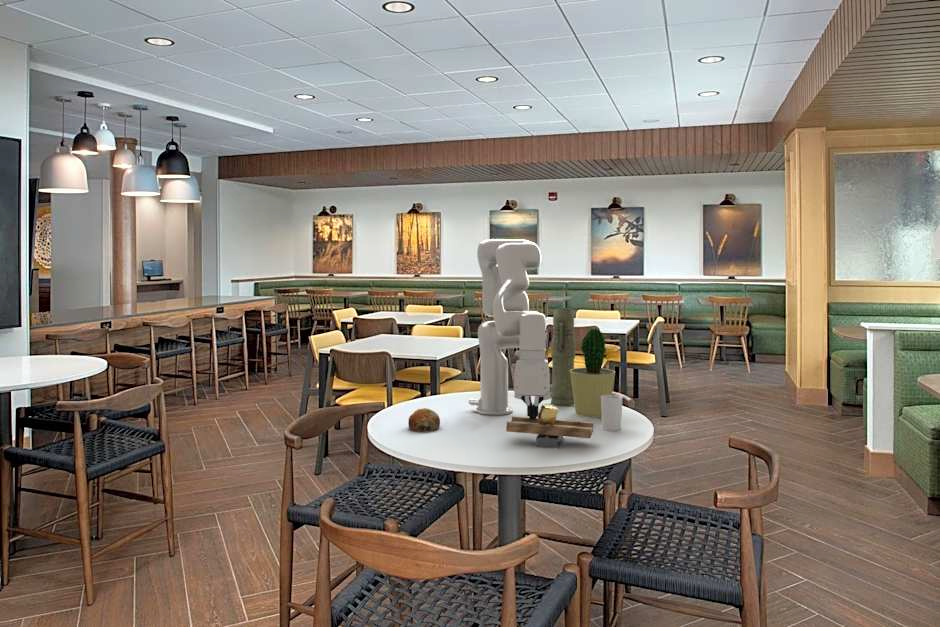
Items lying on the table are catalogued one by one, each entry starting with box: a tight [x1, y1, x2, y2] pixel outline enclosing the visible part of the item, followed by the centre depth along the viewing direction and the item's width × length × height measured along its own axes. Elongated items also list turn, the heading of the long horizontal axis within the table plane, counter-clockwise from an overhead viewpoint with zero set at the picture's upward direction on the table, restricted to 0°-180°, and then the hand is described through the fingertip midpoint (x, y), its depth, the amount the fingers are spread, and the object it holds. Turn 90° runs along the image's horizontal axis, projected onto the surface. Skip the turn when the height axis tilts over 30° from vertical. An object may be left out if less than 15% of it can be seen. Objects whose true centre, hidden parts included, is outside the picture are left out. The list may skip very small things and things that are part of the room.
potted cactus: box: [570, 327, 616, 418], centre depth 243 cm, size 15×15×30 cm
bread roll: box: [407, 407, 441, 433], centre depth 224 cm, size 10×10×8 cm
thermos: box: [550, 307, 577, 406], centre depth 260 cm, size 9×12×35 cm
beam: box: [505, 416, 595, 440], centre depth 205 cm, size 24×9×3 cm, turn 75°
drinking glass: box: [601, 394, 623, 431], centre depth 222 cm, size 7×7×10 cm
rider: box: [537, 403, 559, 425], centre depth 205 cm, size 5×5×5 cm
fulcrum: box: [535, 434, 564, 449], centre depth 206 cm, size 6×12×3 cm, turn 165°
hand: (532, 418), depth 205 cm, fingers closed
